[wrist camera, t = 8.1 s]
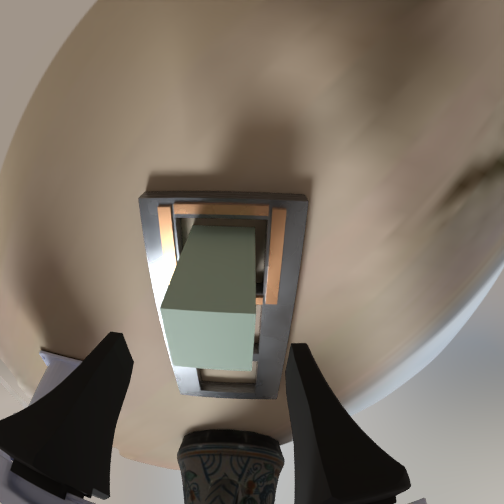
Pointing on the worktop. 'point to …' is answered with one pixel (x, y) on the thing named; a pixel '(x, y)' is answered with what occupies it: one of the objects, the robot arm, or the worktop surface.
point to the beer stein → (229, 467)
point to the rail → (267, 293)
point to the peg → (213, 300)
